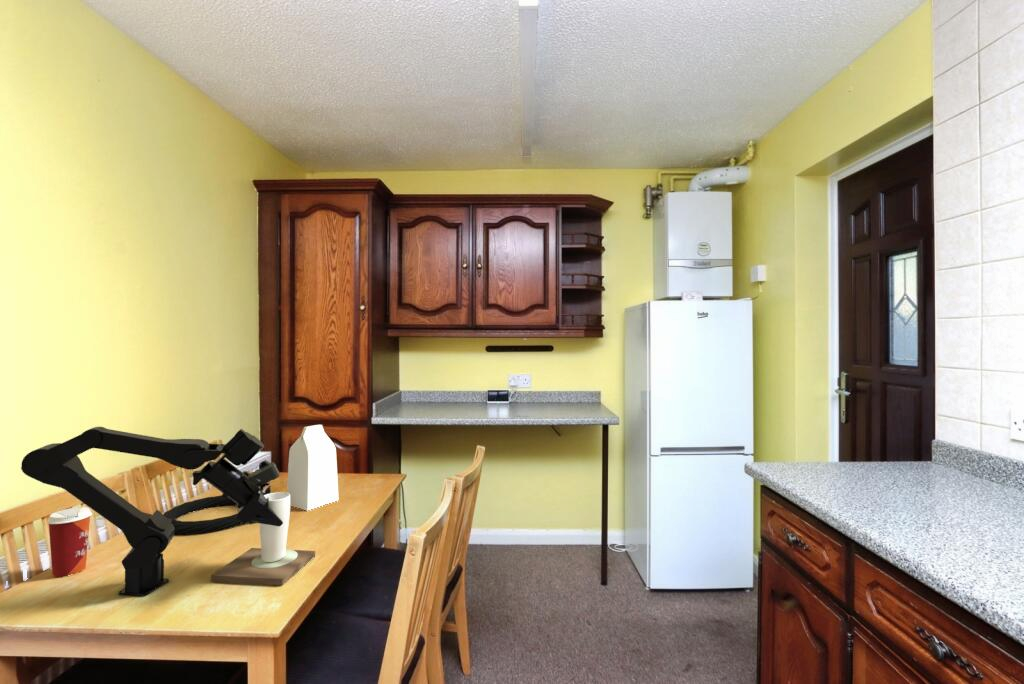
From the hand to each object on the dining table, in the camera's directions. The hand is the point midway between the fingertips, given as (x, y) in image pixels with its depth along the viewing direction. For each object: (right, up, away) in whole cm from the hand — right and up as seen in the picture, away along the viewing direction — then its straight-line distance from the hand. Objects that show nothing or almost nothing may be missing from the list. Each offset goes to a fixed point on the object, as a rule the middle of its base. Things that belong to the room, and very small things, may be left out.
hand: (282, 519), depth 113 cm
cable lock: (-35, -11, +30) cm, 47 cm away
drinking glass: (-2, -9, -1) cm, 9 cm away
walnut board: (-3, -11, -3) cm, 11 cm away
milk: (-11, -11, +43) cm, 46 cm away
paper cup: (-48, -11, -4) cm, 49 cm away
